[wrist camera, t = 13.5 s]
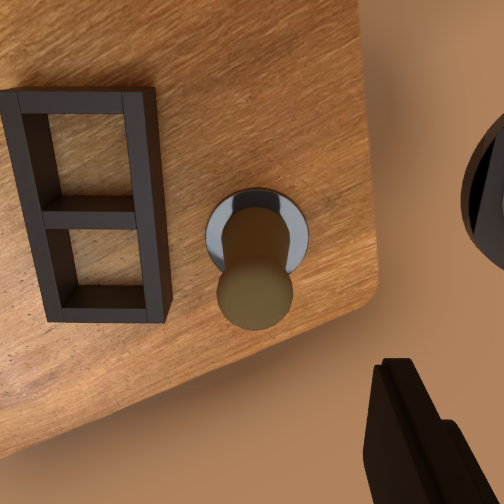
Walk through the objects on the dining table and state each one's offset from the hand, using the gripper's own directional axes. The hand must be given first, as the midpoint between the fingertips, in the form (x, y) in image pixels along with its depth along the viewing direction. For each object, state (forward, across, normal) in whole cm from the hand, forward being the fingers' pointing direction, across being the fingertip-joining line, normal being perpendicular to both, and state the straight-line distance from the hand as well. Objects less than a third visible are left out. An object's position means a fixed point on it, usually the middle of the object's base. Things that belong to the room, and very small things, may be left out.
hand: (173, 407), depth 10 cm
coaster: (+28, -2, +8) cm, 29 cm away
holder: (+28, +11, +4) cm, 31 cm away
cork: (+28, -2, +8) cm, 29 cm away
